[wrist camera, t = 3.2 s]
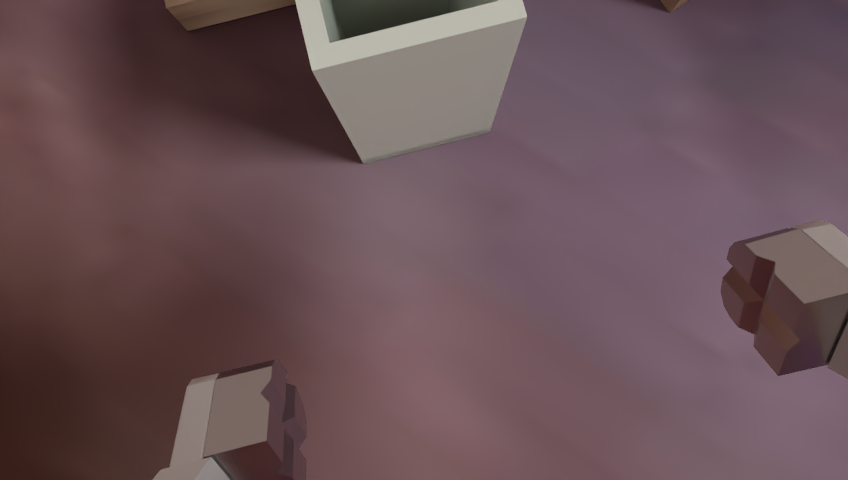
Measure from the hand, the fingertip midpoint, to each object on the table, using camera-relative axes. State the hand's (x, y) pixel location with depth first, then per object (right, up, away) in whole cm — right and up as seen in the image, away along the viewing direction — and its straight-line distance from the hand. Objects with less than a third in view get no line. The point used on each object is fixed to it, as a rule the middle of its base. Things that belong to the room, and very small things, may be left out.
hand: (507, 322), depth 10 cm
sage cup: (-2, +8, +14) cm, 17 cm away
